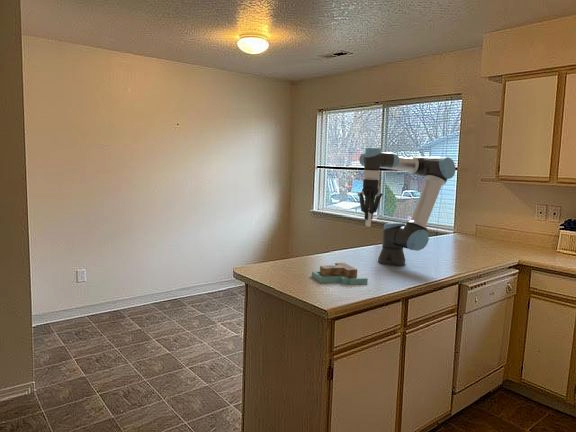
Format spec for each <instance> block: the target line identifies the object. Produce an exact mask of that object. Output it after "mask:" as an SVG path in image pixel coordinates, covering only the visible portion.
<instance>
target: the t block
mask: <svg viewBox="0 0 576 432" xmlns="http://www.w3.org/2000/svg"><path fill="white" fill-rule="evenodd" d="M319 271H320V275H321V276H323V277H327V276H346V277H348V278H358V269H357V268H355V267H353V266H351V265H349V264H348V263H346V262H335V263H334V265H333V264H331V265H319Z"/></svg>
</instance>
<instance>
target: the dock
mask: <svg viewBox="0 0 576 432" xmlns="http://www.w3.org/2000/svg"><path fill="white" fill-rule="evenodd" d="M311 277H312V278H313V279H314V280H316V281H317V282H319V283H320V284H326V283H330V284H331V283H341V284H343V285H347V284H348V285H366V284H368V278H367V277H357V278H348V277H346V276H327V277H323V276H321V275H320V270H312V271H311Z"/></svg>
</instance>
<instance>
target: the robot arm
mask: <svg viewBox="0 0 576 432" xmlns="http://www.w3.org/2000/svg"><path fill="white" fill-rule="evenodd" d="M358 161H359V163H360V165H361V166H363V168H364V169H363V178H364V179H363V180H362V181H363V182H362V190H361V191H360V192H357V195H358V199H359V204H360V210H361V213H364V217H363V218H364V220H365V223H364V224H365V227H367V228H369V227H370V228H371V227H372V226H371V225H372V224H371V223H372V220H373V215H374V214H375V213H377V212H378V208H379V204H380V201H381V198H382V196H384V195H383V193H381V192H380V191H379V183H380V181H379V179H380V169H386V170H394V171H401V172H407V173H408V174H410V175H411V174H412V175H417V176H420V177H423V178H425V180H426V181H425V183H424V185H423V188H422V191H421V193H420V196H419V198H418V201H417V203H416V206H415V209H414V211H413V213H412V215H411V218H410V220H408V221H406V223H405V222H387V223H384V225H383V229H382V231H383V232H382V243H381V247H382V248H381V251H380V253H379V255H378V257H377V258H378V259H377V262H378V263H380V264H382V265H386V266H404V265H406V258H405V253H404V249H407V250H410V251H417V252H418V251H421V250H424V248H425V247H426V246H427V245H428V243H429V240H430V236H429V233H428V227H427V224H428V221H429V218H430V216H431V214H432V212H433V209H434V206H435V204H436V202H437V199H438V197H439V193H440V191H441V189H442V186H444V185H446V184H447V181H448V180H451V179H452V178H453V177H454V176H455V174H456V164H455V162H454V160H453V159H452V158H450V157H448V156H410V157H406V156H405V157H404V156H400V155H398V153H396V152H389V151H388V152H387V151H386V152H385V151H382V147H381V148H380V147H374V146H373V147H371V146H370V147H369V146H368V147H366V148H365V151H364V152H362V153H361V154H360V155H359V160H358Z"/></svg>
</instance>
